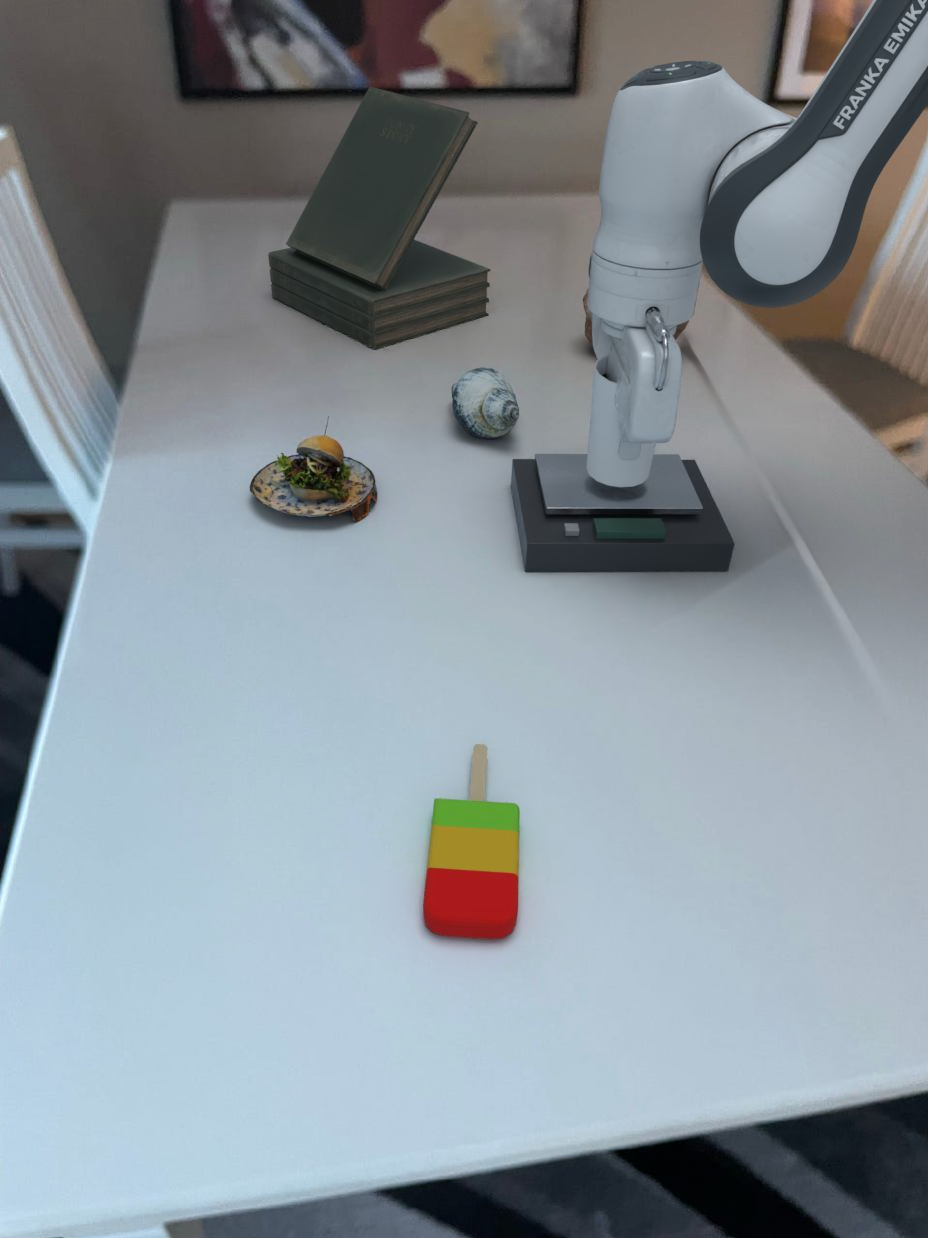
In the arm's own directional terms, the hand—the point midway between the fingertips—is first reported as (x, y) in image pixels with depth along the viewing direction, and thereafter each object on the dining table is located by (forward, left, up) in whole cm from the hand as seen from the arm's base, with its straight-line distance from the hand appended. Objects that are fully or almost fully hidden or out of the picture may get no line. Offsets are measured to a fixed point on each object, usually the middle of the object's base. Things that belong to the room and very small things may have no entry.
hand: (621, 441), depth 90 cm
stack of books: (+23, -54, -8) cm, 60 cm away
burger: (+28, -4, -8) cm, 29 cm away
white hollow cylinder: (0, 0, -3) cm, 3 cm away
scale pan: (0, 0, -5) cm, 5 cm away
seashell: (+11, -18, -8) cm, 23 cm away
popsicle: (+15, +38, -8) cm, 42 cm away
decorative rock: (-9, -40, -8) cm, 41 cm away
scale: (0, +2, -8) cm, 8 cm away
